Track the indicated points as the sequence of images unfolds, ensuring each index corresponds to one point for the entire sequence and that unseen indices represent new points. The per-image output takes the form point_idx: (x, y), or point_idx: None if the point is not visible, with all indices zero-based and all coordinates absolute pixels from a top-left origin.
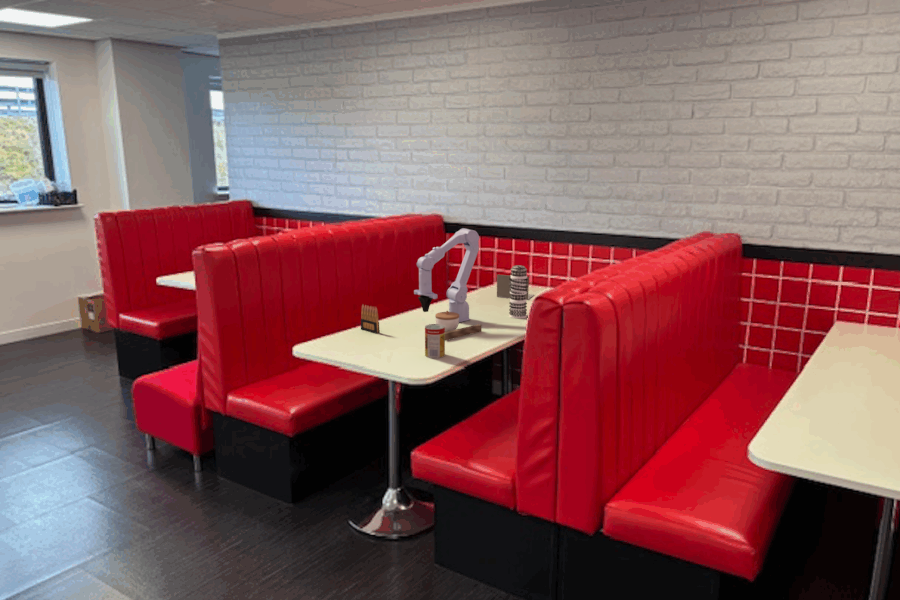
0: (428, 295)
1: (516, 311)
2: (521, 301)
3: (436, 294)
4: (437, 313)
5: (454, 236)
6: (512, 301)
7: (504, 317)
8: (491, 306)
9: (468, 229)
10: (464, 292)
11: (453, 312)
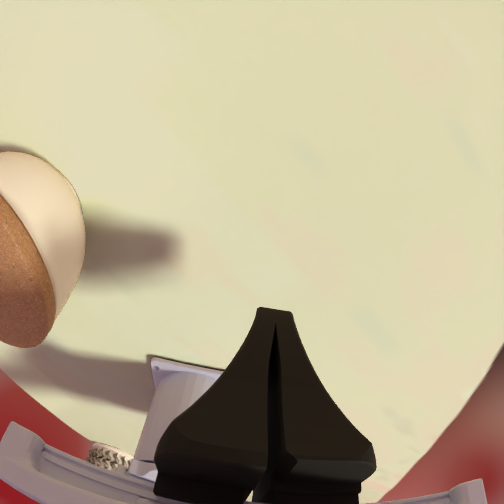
0: (77, 494)
1: (93, 460)
2: None
3: (16, 489)
4: (12, 254)
5: None
6: None
7: (124, 445)
8: (251, 492)
9: None
10: None
11: (7, 339)
